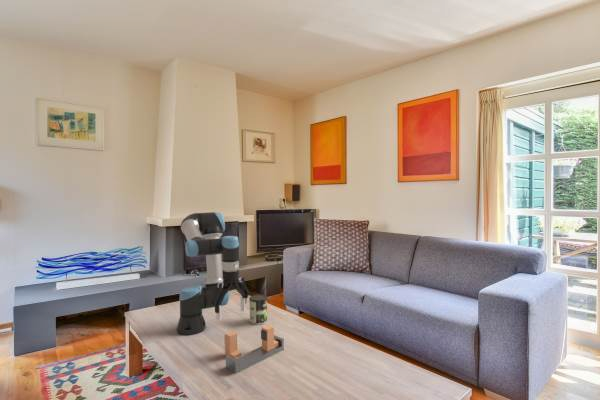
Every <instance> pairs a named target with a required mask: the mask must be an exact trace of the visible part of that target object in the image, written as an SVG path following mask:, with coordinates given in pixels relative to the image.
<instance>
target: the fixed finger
mask: <svg viewBox="0 0 600 400" xmlns="http://www.w3.org/2000/svg"><path fill="white" fill-rule="evenodd" d="M274 329H275V327H274V326H272V325H270V324H269V325H268V324H267V325H264V326H262V327H261V330H260V339H261V346H262V349H264V350H266V351H269V350H271V349H273V348H275V347H277V346H279V342H278V341H276V340H274V335H275V333H274V332H275V331H274Z"/></svg>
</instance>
